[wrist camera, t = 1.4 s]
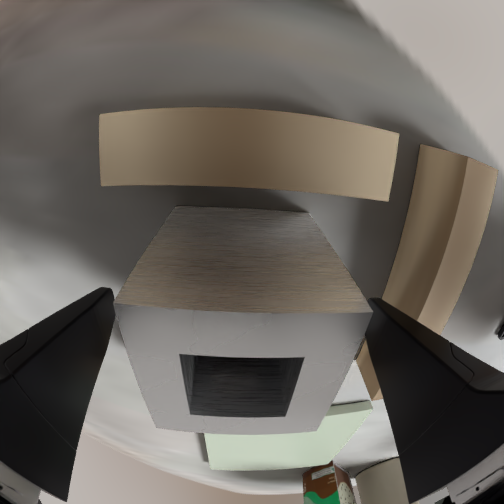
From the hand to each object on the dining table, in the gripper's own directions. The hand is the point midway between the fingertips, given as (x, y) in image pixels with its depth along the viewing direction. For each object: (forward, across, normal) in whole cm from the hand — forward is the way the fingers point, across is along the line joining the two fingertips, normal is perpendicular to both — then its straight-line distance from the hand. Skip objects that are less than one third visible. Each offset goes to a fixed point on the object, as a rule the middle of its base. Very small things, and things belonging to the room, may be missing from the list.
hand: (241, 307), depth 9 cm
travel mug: (+3, -22, +34) cm, 41 cm away
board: (+3, -4, +17) cm, 18 cm away
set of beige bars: (+3, -2, 0) cm, 4 cm away
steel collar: (+3, 0, 0) cm, 3 cm away
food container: (+3, -11, +30) cm, 32 cm away
